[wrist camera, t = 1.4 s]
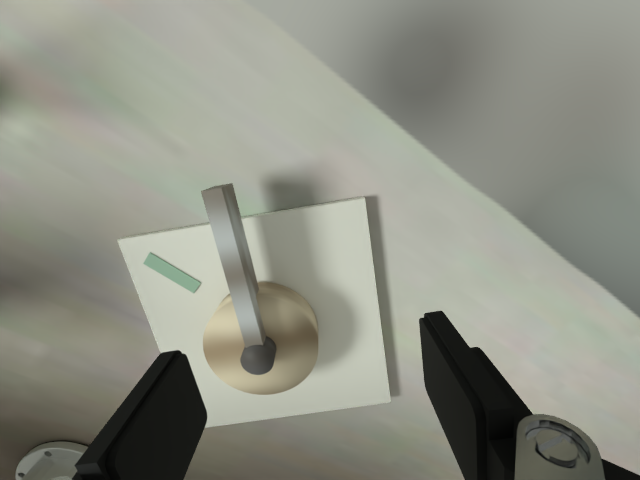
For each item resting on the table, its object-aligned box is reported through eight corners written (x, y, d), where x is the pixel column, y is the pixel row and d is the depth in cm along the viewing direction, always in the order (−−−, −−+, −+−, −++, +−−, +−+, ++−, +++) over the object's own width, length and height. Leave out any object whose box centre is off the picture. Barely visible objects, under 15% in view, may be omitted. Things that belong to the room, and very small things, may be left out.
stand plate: (389, 395, 36) (391, 403, 35) (193, 422, 37) (189, 430, 36) (363, 196, 29) (365, 198, 28) (123, 237, 30) (116, 240, 29)
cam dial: (326, 365, 33) (327, 401, 28) (228, 379, 34) (214, 416, 29) (288, 172, 27) (281, 177, 22) (169, 193, 27) (139, 202, 23)
